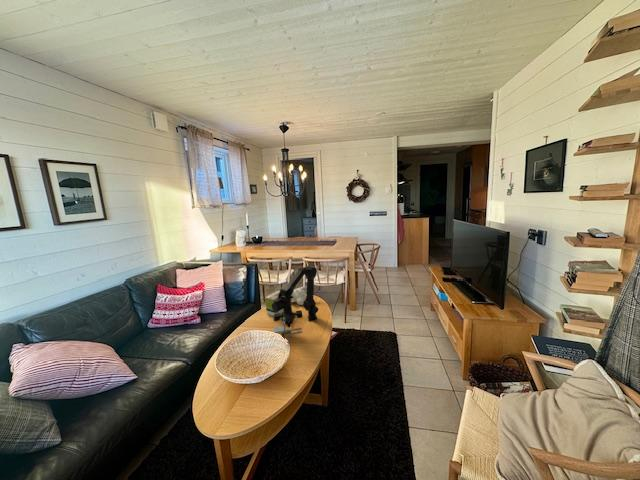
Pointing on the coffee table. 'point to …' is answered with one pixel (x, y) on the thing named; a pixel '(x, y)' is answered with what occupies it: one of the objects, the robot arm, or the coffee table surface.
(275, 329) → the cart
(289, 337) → the block
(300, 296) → the fox head
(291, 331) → the track
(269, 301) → the tea box
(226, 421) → the coffee table surface
